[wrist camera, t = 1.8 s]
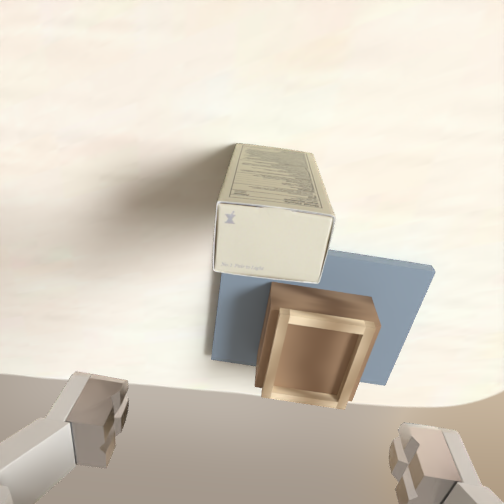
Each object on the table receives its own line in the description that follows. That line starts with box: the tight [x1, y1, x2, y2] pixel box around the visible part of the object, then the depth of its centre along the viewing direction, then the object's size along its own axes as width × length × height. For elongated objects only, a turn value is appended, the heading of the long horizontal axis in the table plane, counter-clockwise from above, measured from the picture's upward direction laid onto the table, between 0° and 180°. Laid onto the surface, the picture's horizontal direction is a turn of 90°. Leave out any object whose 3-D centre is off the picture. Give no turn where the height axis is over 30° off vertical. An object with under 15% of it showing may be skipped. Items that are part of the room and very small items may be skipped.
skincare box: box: [212, 143, 336, 284], centre depth 26 cm, size 6×4×12 cm
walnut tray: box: [255, 282, 381, 410], centre depth 35 cm, size 9×10×5 cm
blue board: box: [211, 250, 435, 385], centre depth 37 cm, size 18×14×1 cm
